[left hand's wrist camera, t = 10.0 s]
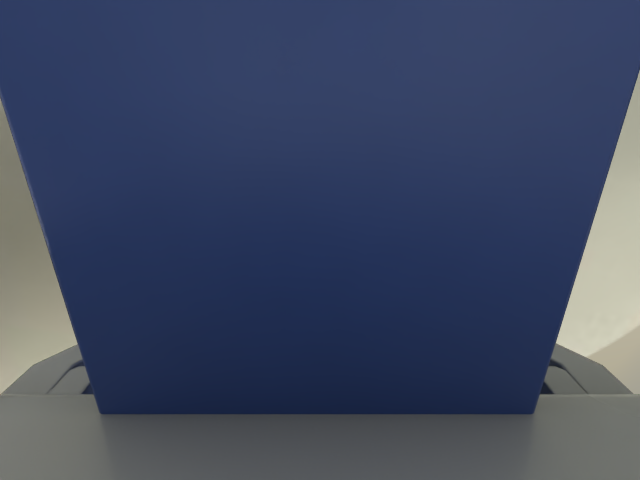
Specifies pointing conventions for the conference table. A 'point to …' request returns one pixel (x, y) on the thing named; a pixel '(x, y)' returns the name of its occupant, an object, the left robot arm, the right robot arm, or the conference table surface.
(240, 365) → the box
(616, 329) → the conference table surface
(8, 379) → the conference table surface
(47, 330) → the conference table surface
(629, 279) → the conference table surface
